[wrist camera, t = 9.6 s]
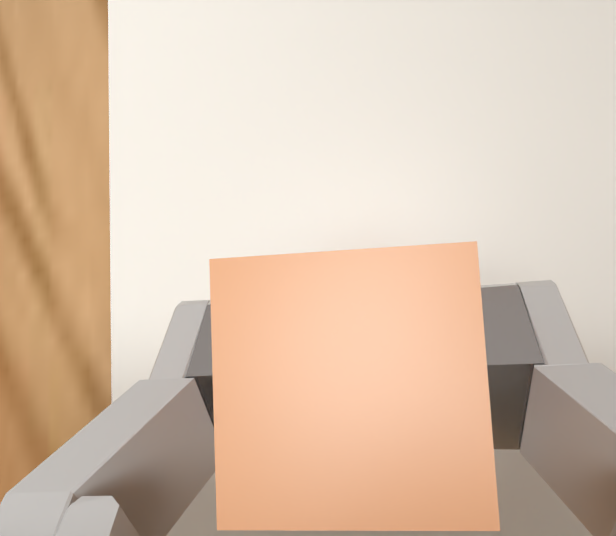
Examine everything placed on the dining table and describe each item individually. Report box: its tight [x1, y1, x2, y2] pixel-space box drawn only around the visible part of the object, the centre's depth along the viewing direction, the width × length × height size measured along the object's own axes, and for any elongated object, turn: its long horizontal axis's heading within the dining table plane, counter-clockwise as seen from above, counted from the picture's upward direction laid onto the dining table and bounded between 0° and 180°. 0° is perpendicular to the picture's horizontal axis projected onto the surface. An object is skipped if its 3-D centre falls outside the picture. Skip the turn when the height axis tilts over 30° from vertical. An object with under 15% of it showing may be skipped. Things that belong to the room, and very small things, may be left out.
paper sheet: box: [108, 0, 616, 536], centre depth 10 cm, size 17×13×9 cm
